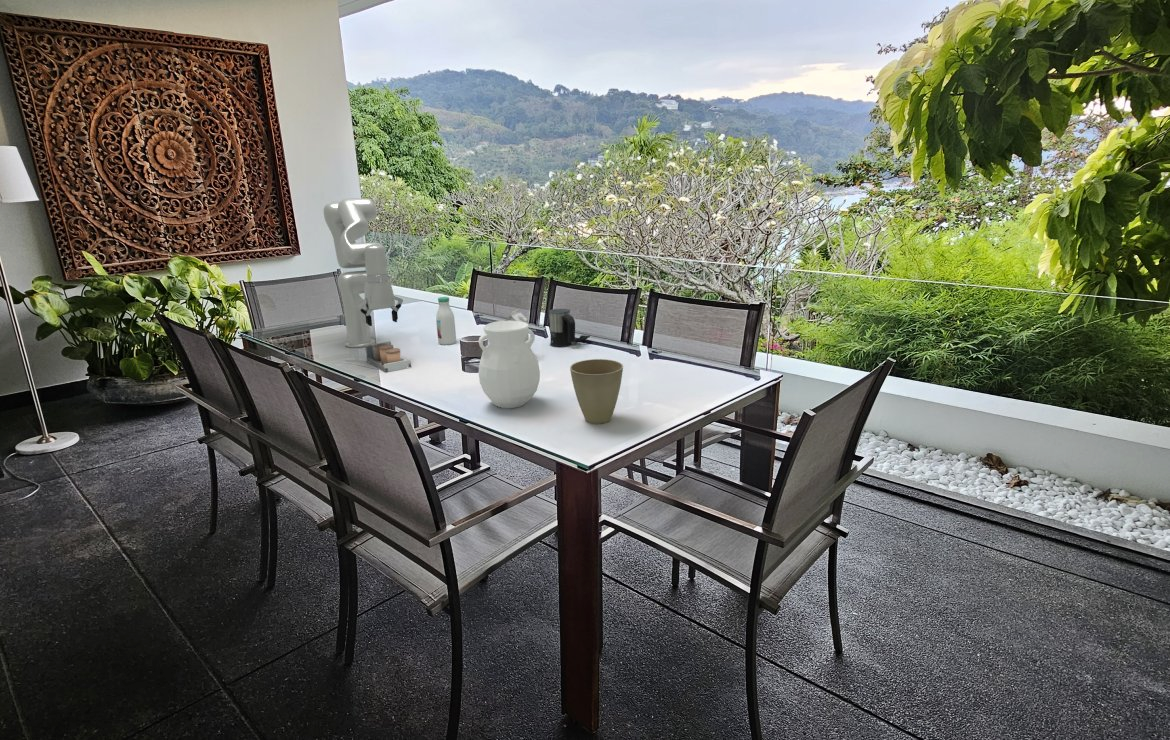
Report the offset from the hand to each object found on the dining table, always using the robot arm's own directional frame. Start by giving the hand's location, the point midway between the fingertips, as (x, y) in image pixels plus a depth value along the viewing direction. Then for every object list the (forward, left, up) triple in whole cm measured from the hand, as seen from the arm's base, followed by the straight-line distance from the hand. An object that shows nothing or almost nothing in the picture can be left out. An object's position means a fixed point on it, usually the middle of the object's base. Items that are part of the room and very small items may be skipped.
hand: (382, 323), depth 234 cm
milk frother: (+23, +71, -16) cm, 76 cm away
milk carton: (+28, +42, -16) cm, 53 cm away
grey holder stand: (+2, 0, -16) cm, 16 cm away
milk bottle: (-14, +32, -16) cm, 38 cm away
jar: (+1, 0, -16) cm, 16 cm away
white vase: (+72, +13, -16) cm, 75 cm away
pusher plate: (-7, 0, -15) cm, 17 cm away
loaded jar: (+8, 0, -16) cm, 18 cm away
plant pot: (+100, +25, -16) cm, 104 cm away
